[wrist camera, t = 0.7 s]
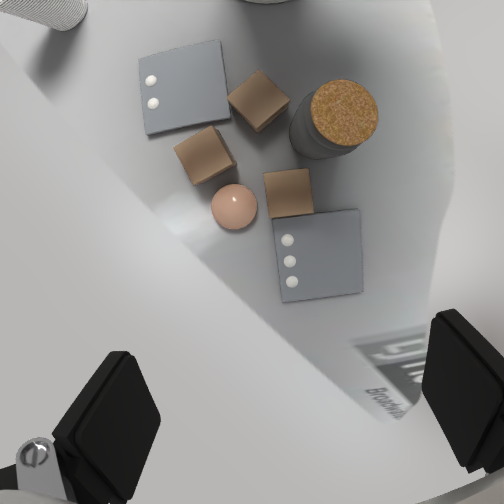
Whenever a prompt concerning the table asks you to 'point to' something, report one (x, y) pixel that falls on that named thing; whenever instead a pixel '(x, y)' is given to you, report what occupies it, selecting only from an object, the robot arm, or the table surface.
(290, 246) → the pad three
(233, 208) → the peach glossy rounded part
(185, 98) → the pad two
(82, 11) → the cup
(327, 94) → the bottle
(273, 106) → the block
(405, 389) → the table surface
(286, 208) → the block
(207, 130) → the block
